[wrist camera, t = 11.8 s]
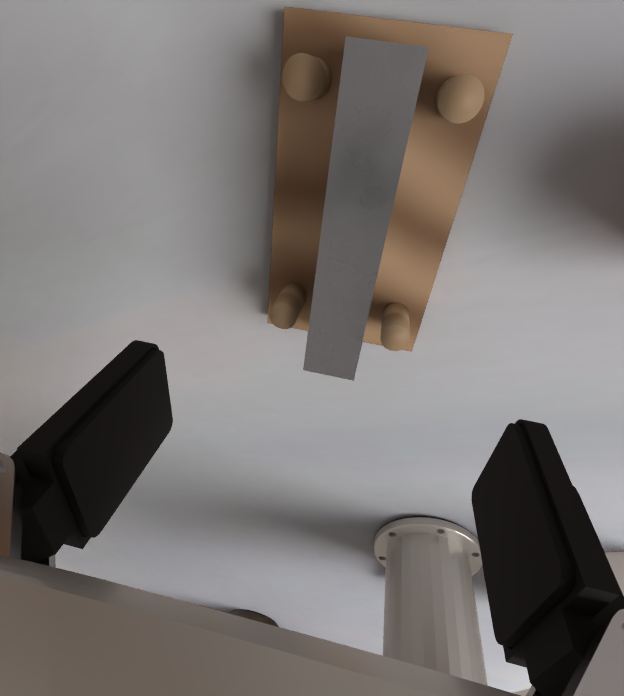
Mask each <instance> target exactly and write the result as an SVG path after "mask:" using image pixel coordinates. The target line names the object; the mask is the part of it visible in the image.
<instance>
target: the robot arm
mask: <svg viewBox="0 0 624 696" xmlns="http://www.w3.org/2000/svg"><path fill="white" fill-rule="evenodd" d="M172 422H173V418H172V411H171V403H170V396H169V388H168V381H167V374H166V366H165V359H164V353H163V352H162V351H160V350H159V348H158V346H157V345H156V344H152V343H147V342H143V341H138V340H135V341H133V342H131V343H130V344H129V345H128V346H127V347H126V348H125V349H124V350H123V351H122V352H121V353H119V354H118V355H117V356H116V357H115V358H114V359H113V360H112V361H111V362H110V363H109V364H108V365H106V366H105V367H104V368H103V369H102V370H101V371H100V372H99V373H98V374H97V375H96V376H95V377H94V378H92V379H91V380H90V381H89V382H88V383H87V384H86V385H85V386H84V387H83V388H82V389H81V390H79V391H78V392H77V393H76V394H75V395H74V396H73V397H72V398H71V399H70V400H69V401H68V402H67V403H65V404H64V405H63V406H62V407H61V408H60V409H59V410H58V411H57V412H56V413H55V414H54V415H52V416H51V417H50V418H49V419H48V420H47V421H46V422H45V423H44V424H43V425H42V426H41V427H40V428H38V429H37V430H36V431H35V432H34V433H33V434H32V435H31V436H30V437H29V438H28V439H27V440H25V441H24V442H23V443H22V444H21V445H20V446H19V447H18V448H17V451H16V452H15V453H14V454H13V455H11V456H10V457H9V456H8V455H6V454H3V453H0V696H520V695H517V694H513V693H510V692H506V691H503V690H500V689H496V688H493V687H490V686H488V685H487V678H486V671H485V664H484V657H483V650H482V643H481V636H480V629H479V622H478V615H477V608H476V601H475V594H474V587H473V580H472V576H473V575H475V574H476V573H477V572H478V571H479V570H480V569H481V567H482V565H483V570H484V576H485V582H486V588H487V594H488V600H489V606H490V611H491V617H492V623H493V629H494V634H495V638H496V641H497V642H498V644H500V645H503V648H504V653H505V659H506V662H508V663H512V664H516V665H520V666H523V667H527V670H528V675H529V680H530V683H531V684H532V686H531V688H530V690H529V692H528V693H527V695H526V696H624V596H623V593H622V591H621V589H620V587H619V584H618V582H617V580H616V577H615V575H614V573H613V571H612V568H611V566H610V564H609V561H608V559H607V557H606V555H605V552H604V550H603V548H602V546H601V543H600V541H599V539H598V536H597V534H596V532H595V530H594V527H593V525H592V523H591V520H590V518H589V516H588V514H587V511H586V509H585V507H584V505H583V502H582V500H581V498H580V495H579V493H578V492H577V490H576V488H575V487H574V486H573V485H572V483H571V481H570V479H569V476H568V474H567V472H566V469H565V467H564V465H563V462H562V460H561V458H560V455H559V453H558V451H557V449H556V446H555V444H554V442H553V439H552V437H551V435H550V432H549V430H548V428H547V426H546V425H544V424H541V423H536V422H531V421H526V420H518V421H517V422H516V423H515V424H513V423H510V424H509V425H508V426H507V428H506V429H505V431H504V433H503V435H502V437H501V439H500V440H499V442H498V444H497V446H496V448H495V449H494V451H493V453H492V455H491V457H490V458H489V460H488V462H487V464H486V466H485V468H484V469H483V471H482V473H481V475H480V477H479V478H478V480H477V482H476V484H475V486H474V488H473V491H472V505H473V511H474V517H475V523H476V529H477V535H478V540H477V539H476V537H475V536H474V535H472V534H471V533H470V532H469V531H467V530H466V529H464V528H462V527H460V526H458V525H456V524H453V523H451V522H448V521H444V520H440V519H435V518H427V517H413V518H404V519H400V520H396V521H393V522H391V523H389V524H387V525H385V526H384V527H382V528H381V529H380V530H379V531H378V532H377V534H376V536H375V539H374V554H375V557H376V558H377V560H378V561H379V562H380V563H381V564H382V565H383V566H384V567H385V568H386V575H385V605H384V635H383V656H381V655H378V654H374V653H371V652H367V651H363V650H360V649H356V648H353V647H349V646H346V645H342V644H338V643H335V642H331V641H328V640H324V639H320V638H317V637H313V636H309V635H306V634H302V633H298V632H295V631H291V630H287V629H284V628H280V627H276V626H273V625H269V624H265V623H262V622H258V621H255V620H251V619H247V618H244V617H240V616H236V615H232V614H229V613H225V612H221V611H218V610H214V609H210V608H207V607H203V606H199V605H196V604H192V603H188V602H185V601H181V600H177V599H173V598H170V597H166V596H162V595H158V594H155V593H151V592H147V591H144V590H140V589H136V588H132V587H129V586H125V585H121V584H117V583H114V582H110V581H106V580H102V579H99V578H95V577H91V576H87V575H83V574H79V573H75V572H71V571H67V570H63V569H59V568H56V564H55V554H56V553H57V552H58V550H59V549H60V548H61V546H62V545H63V544H66V545H70V546H73V547H77V548H81V549H83V548H84V547H85V545H86V544H87V542H88V541H89V539H90V538H91V537H93V538H94V537H96V536H97V535H99V534H100V532H101V531H102V530H103V528H104V527H105V525H106V524H107V522H108V521H109V519H110V518H111V516H112V515H113V514H114V512H115V511H116V509H117V508H118V506H119V505H120V503H121V502H122V500H123V499H124V497H125V496H126V495H127V493H128V492H129V490H130V489H131V487H132V486H133V484H134V483H135V481H136V480H137V478H138V477H139V476H140V474H141V473H142V471H143V470H144V468H145V467H146V465H147V464H148V462H149V461H150V459H151V458H152V457H153V455H154V454H155V452H156V451H157V449H158V448H159V446H160V445H161V443H162V442H163V440H164V439H165V438H166V436H167V435H168V433H169V431H170V430H171V427H172Z"/></svg>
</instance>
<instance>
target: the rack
mask: <svg viewBox="0 0 624 696" xmlns="http://www.w3.org/2000/svg"><path fill="white" fill-rule="evenodd" d="M512 35H513V34H508V33H499V32H491V31H483V30H474V29H466V28H458V27H449V26H441V25H433V24H424V23H416V22H408V21H400V20H391V19H383V18H375V17H366V16H358V15H350V14H341V13H333V12H325V11H316V10H308V9H300V8H291V7H284V24H283V43H282V62H281V80H280V99H279V117H278V136H277V155H276V173H275V192H274V211H273V229H272V248H271V267H270V285H269V304H268V322H267V323H271V324H274V325H275V326H277V327H278V328H282V329H288V328H296V329H301V330H306V331H308V329H309V321H310V313H311V306H312V298H313V290H314V282H315V274H316V266H317V258H318V251H319V243H320V235H321V227H322V219H323V211H324V203H325V196H326V188H327V180H328V172H329V164H330V156H331V148H332V140H333V133H334V125H335V117H336V109H337V101H338V93H339V85H340V78H341V70H342V62H343V54H344V46H345V38H346V37H354V38H362V39H370V40H378V41H386V42H394V43H401V44H409V45H417V46H425V47H429V49H428V54H427V58H426V63H425V67H424V71H423V76H422V80H421V85H420V89H419V93H418V98H417V102H416V107H415V111H414V116H413V120H412V124H411V129H410V133H409V138H408V142H407V147H406V151H405V155H404V160H403V164H402V169H401V173H400V178H399V182H398V186H397V191H396V195H395V200H394V204H393V208H392V213H391V217H390V222H389V226H388V231H387V235H386V239H385V244H384V248H383V253H382V257H381V262H380V266H379V270H378V275H377V279H376V284H375V288H374V293H373V297H372V301H371V306H370V310H369V315H368V319H367V324H366V328H365V332H364V337H363V341H362V342H366V343H371V344H376V345H381V346H384V347H385V348H387V349H389V350H392V351H399V350H406V351H411V352H412V349H413V346H414V343H415V340H416V337H417V334H418V330H419V327H420V324H421V321H422V318H423V315H424V312H425V308H426V305H427V302H428V299H429V296H430V293H431V290H432V286H433V283H434V280H435V277H436V274H437V271H438V268H439V264H440V261H441V258H442V255H443V252H444V249H445V246H446V242H447V239H448V236H449V233H450V230H451V227H452V224H453V220H454V217H455V214H456V211H457V208H458V205H459V202H460V198H461V195H462V192H463V189H464V186H465V183H466V180H467V176H468V173H469V170H470V167H471V164H472V161H473V158H474V154H475V151H476V148H477V145H478V142H479V139H480V136H481V132H482V129H483V126H484V123H485V120H486V117H487V114H488V110H489V107H490V104H491V101H492V98H493V95H494V92H495V88H496V85H497V82H498V79H499V76H500V73H501V70H502V66H503V63H504V60H505V57H506V54H507V51H508V48H509V44H510V41H511V38H512Z"/></svg>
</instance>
